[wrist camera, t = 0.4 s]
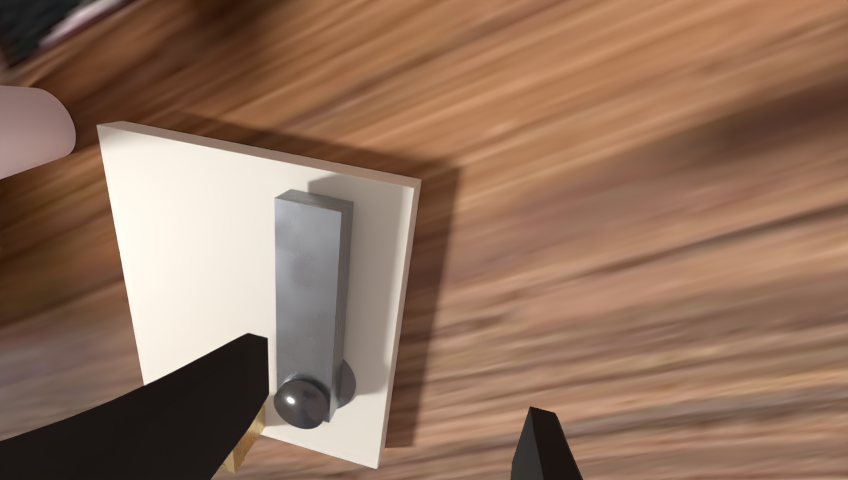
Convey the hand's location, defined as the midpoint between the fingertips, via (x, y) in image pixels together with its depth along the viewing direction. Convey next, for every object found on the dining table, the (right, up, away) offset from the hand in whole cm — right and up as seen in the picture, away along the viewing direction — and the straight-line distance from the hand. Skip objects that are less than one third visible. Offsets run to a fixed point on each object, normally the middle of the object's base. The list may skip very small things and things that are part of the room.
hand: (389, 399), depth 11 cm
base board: (-8, +1, +13) cm, 16 cm away
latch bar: (-4, +1, +10) cm, 11 cm away
